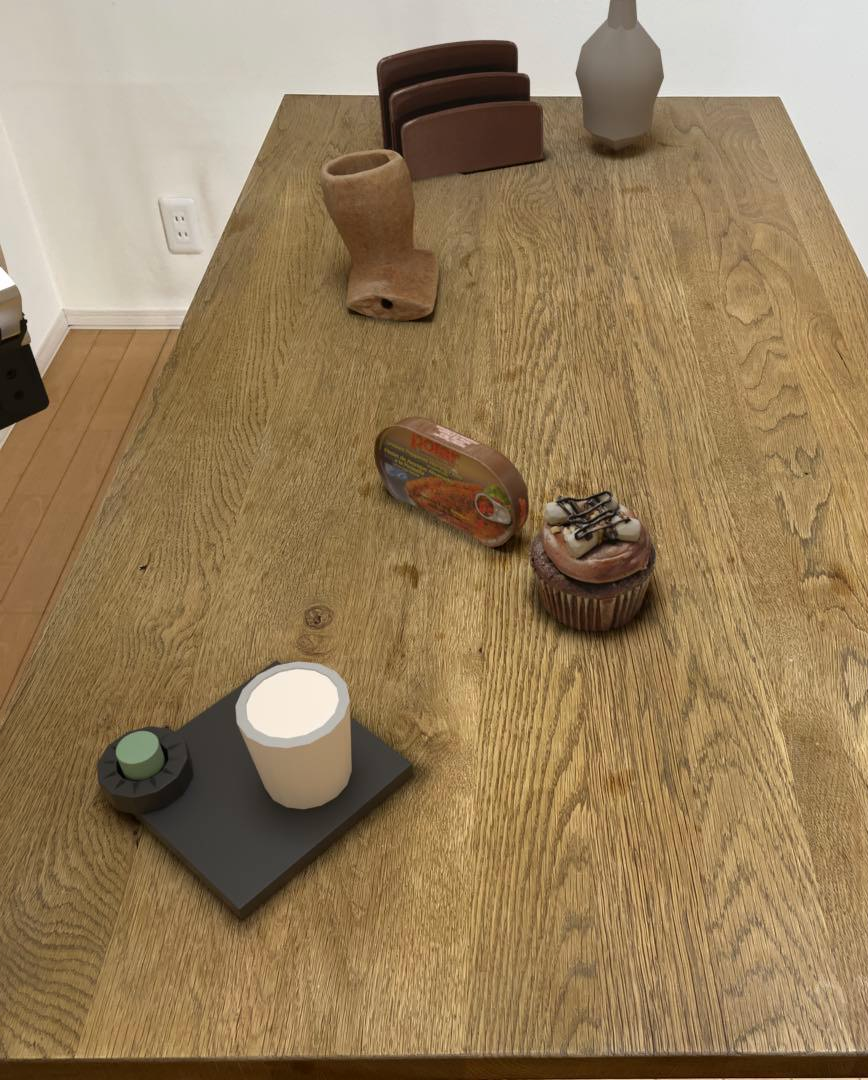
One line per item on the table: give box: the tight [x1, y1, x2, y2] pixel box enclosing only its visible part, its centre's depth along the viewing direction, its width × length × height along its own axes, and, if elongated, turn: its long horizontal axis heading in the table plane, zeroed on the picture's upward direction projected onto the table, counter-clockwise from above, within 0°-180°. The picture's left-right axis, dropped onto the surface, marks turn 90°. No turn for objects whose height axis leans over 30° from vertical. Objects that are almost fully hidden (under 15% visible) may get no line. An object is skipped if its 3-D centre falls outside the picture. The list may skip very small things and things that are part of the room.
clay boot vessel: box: [319, 148, 440, 322], centre depth 118 cm, size 15×12×15 cm
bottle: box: [575, 0, 665, 152], centre depth 144 cm, size 11×11×30 cm
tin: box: [373, 415, 530, 548], centre depth 91 cm, size 15×3×8 cm, turn 53°
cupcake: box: [528, 490, 658, 633], centre depth 83 cm, size 10×10×10 cm
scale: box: [96, 660, 414, 921], centre depth 72 cm, size 15×15×4 cm
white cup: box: [236, 660, 352, 809], centre depth 69 cm, size 7×7×7 cm
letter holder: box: [376, 39, 545, 181], centre depth 147 cm, size 10×20×14 cm, turn 113°
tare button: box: [116, 731, 165, 781], centre depth 70 cm, size 3×3×2 cm
